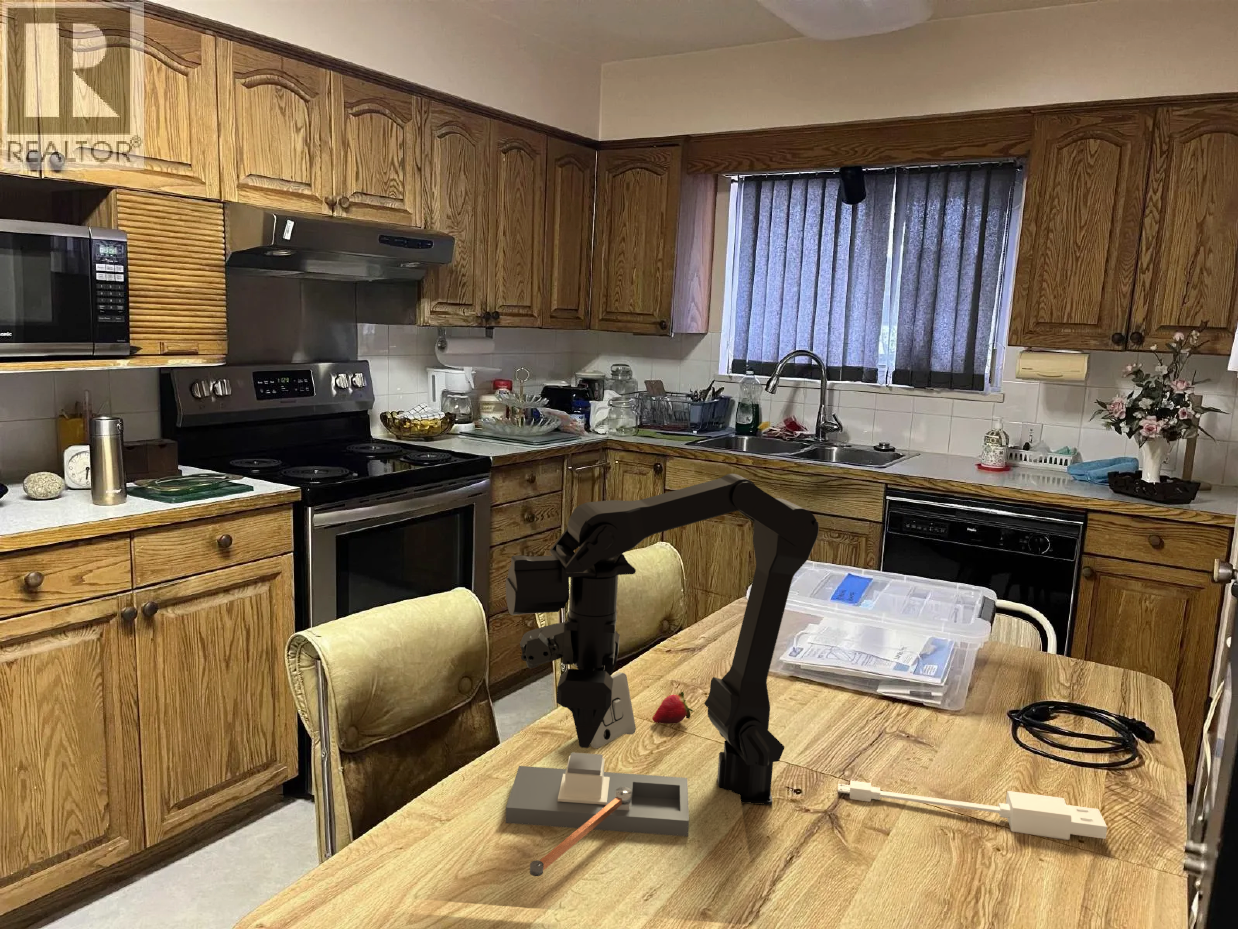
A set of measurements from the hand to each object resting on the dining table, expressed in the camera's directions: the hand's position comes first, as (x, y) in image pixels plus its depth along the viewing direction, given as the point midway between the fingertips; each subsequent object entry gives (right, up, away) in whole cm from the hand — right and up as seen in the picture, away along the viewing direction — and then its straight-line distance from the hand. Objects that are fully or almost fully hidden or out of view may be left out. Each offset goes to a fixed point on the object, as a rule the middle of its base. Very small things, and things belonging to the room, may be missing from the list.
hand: (587, 729), depth 113 cm
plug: (-1, -10, +2) cm, 10 cm away
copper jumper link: (0, -9, -9) cm, 13 cm away
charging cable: (+50, -13, +6) cm, 52 cm away
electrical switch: (+1, -8, +22) cm, 23 cm away
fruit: (+12, -7, +28) cm, 31 cm away
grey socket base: (+1, -11, +2) cm, 11 cm away
